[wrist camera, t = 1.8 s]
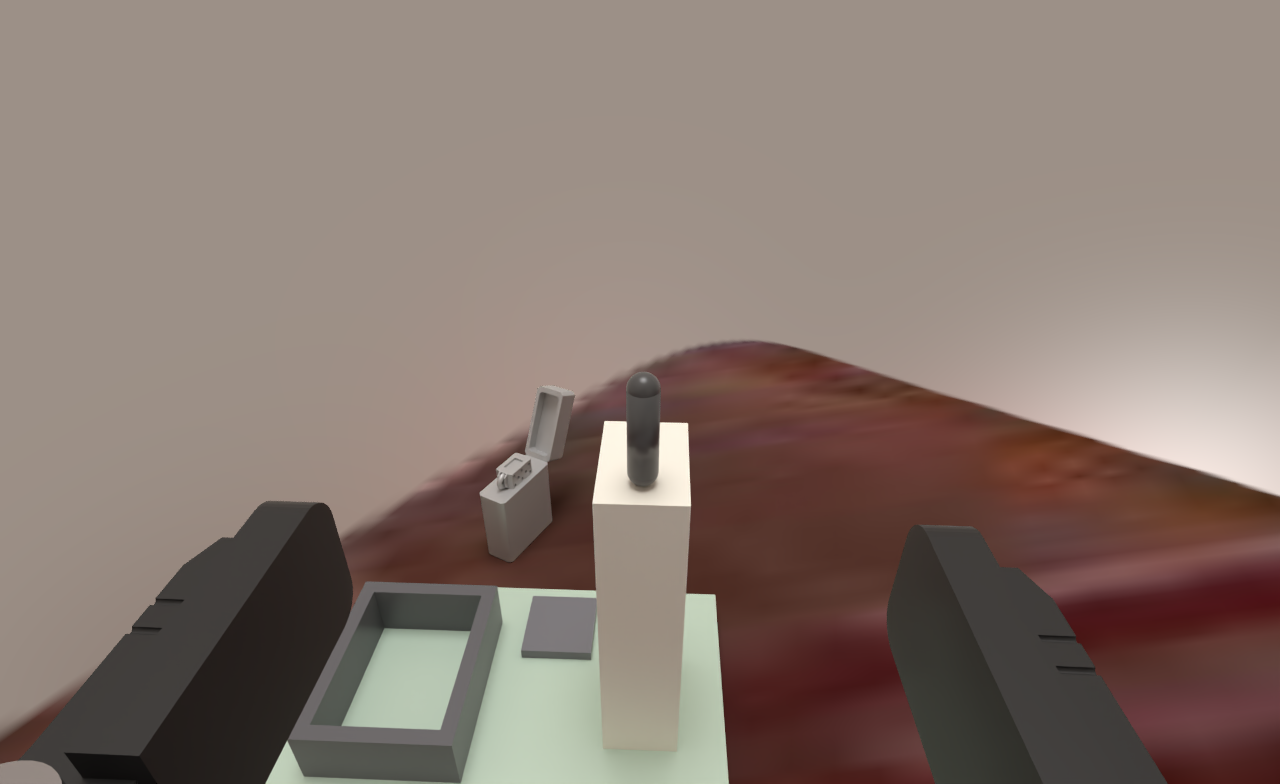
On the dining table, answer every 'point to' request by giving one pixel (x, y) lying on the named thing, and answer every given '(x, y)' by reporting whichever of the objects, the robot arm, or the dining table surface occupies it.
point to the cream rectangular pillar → (641, 571)
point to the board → (491, 694)
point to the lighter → (527, 479)
